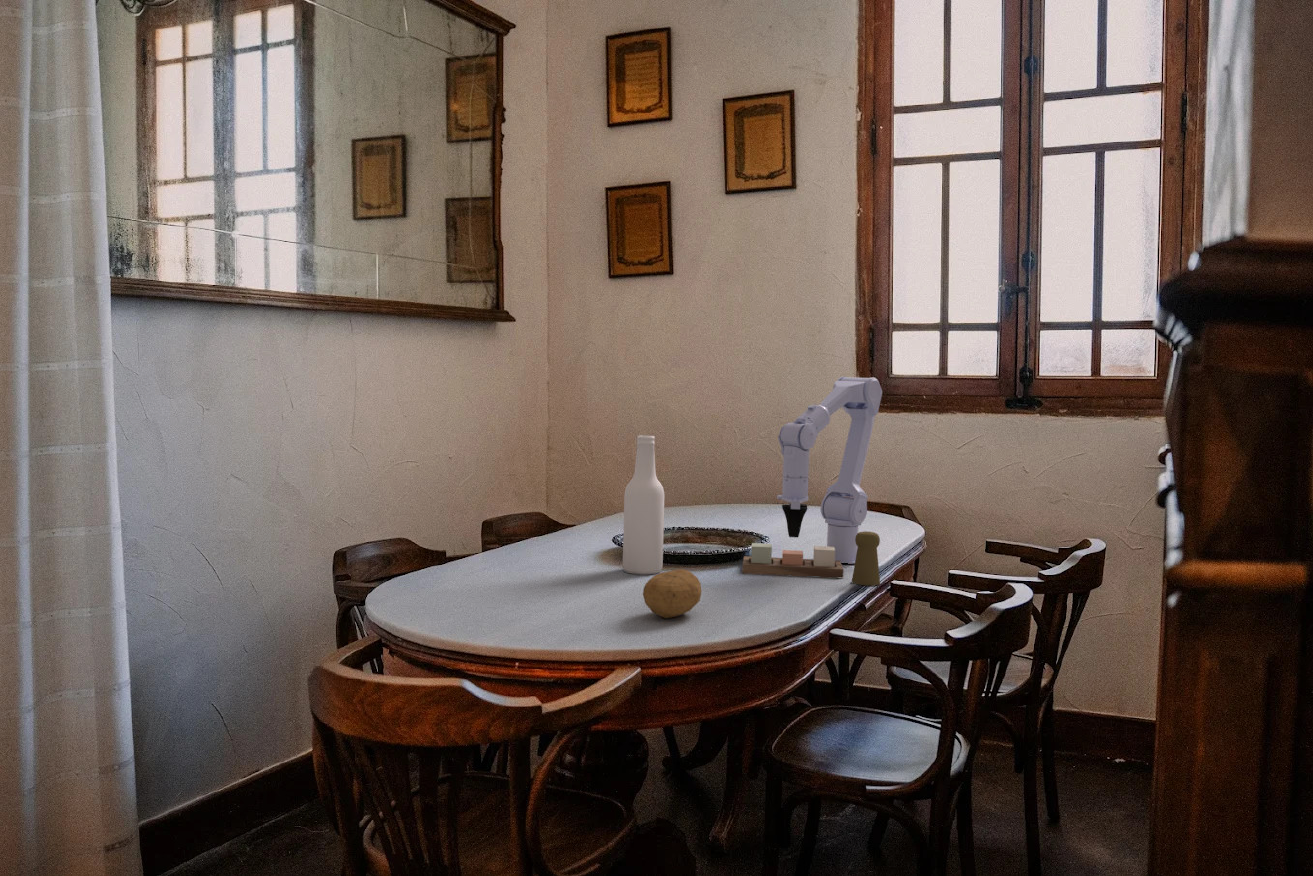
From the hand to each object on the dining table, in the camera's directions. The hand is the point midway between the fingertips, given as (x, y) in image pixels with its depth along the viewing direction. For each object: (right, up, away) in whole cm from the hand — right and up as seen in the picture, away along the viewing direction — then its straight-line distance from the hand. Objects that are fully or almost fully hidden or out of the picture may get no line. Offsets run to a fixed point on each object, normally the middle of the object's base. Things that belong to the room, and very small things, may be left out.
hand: (793, 536), depth 232 cm
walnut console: (0, -8, 0) cm, 8 cm away
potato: (-28, -11, -44) cm, 53 cm away
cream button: (+7, -6, 0) cm, 9 cm away
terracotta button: (0, -7, 0) cm, 8 cm away
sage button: (-7, -6, +1) cm, 9 cm away
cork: (+14, -9, -10) cm, 20 cm away
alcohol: (-34, -7, -4) cm, 35 cm away
